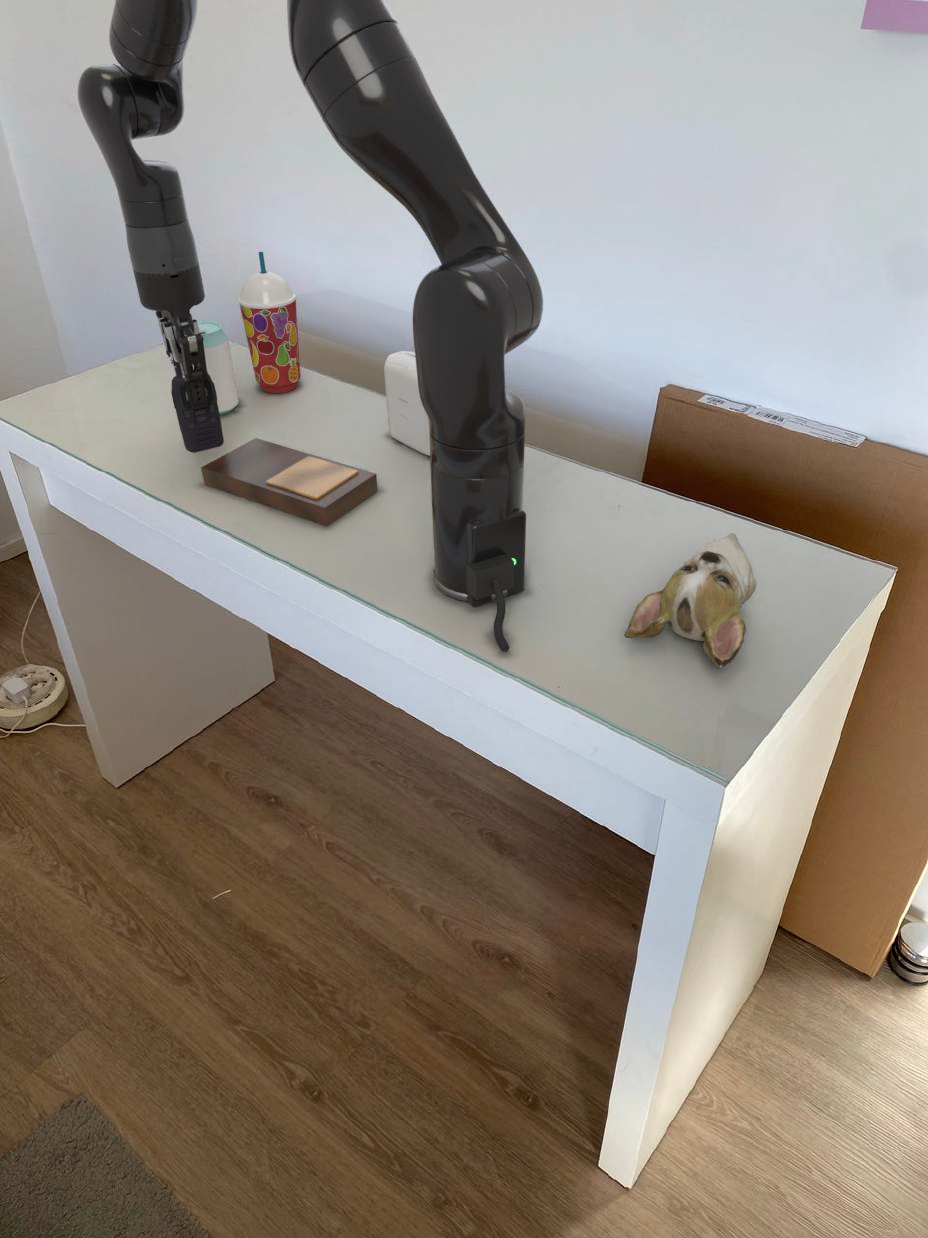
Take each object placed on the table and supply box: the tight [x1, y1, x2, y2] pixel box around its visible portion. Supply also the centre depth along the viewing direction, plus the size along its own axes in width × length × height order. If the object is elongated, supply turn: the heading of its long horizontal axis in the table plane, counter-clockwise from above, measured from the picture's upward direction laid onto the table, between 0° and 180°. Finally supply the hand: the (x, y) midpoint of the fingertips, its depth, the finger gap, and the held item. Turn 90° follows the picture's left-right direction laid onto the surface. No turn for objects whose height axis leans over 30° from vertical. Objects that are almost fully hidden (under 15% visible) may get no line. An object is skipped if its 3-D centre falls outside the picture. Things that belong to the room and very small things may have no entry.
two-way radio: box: [171, 352, 225, 454], centre depth 116 cm, size 6×4×15 cm
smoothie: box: [237, 251, 301, 394], centre depth 135 cm, size 8×8×20 cm
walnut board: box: [200, 437, 379, 527], centre depth 114 cm, size 20×10×3 cm, turn 58°
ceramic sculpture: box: [624, 532, 757, 670], centre depth 87 cm, size 11×9×15 cm
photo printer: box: [383, 350, 430, 457], centre depth 121 cm, size 10×4×12 cm, turn 39°
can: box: [193, 320, 240, 415], centre depth 131 cm, size 7×7×12 cm
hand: (194, 399), depth 116 cm, fingers closed on two-way radio, 4 cm apart
